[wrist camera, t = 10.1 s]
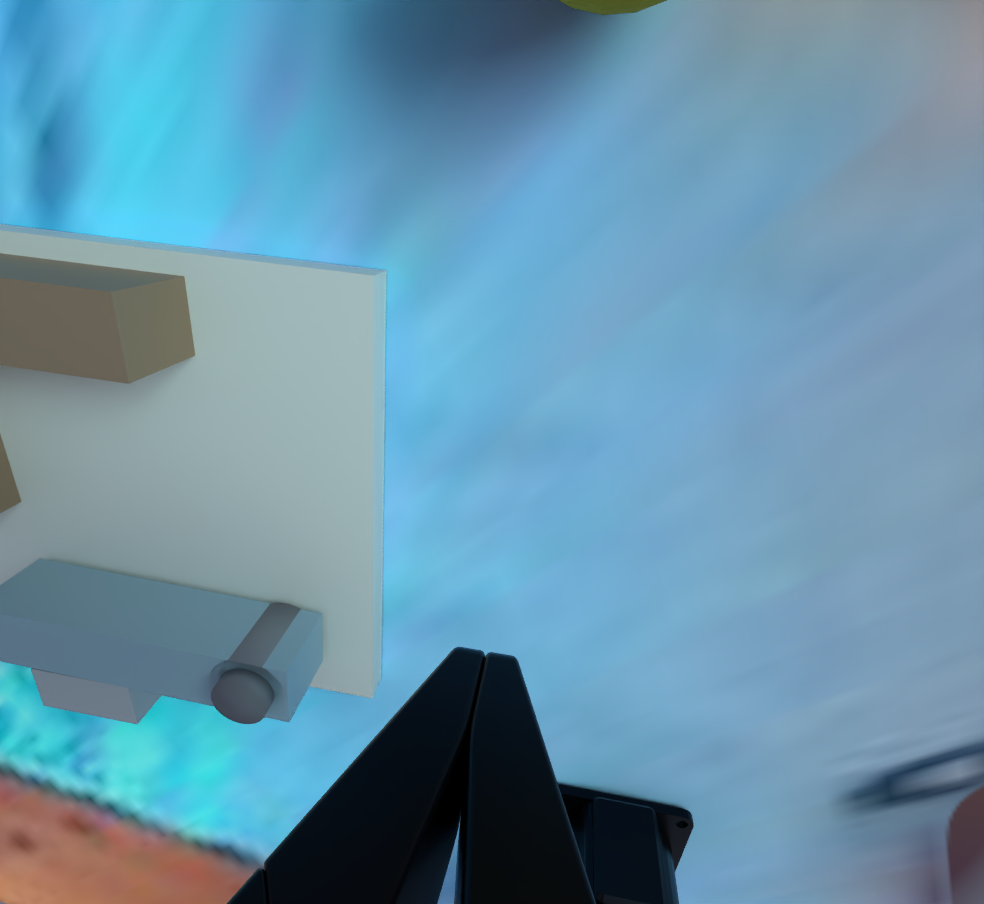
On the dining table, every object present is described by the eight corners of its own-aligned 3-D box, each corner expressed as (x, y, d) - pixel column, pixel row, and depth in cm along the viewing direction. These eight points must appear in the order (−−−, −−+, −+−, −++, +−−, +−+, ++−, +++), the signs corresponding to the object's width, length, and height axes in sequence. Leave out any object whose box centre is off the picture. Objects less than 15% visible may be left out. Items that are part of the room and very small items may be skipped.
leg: (322, 610, 22) (277, 682, 19) (323, 662, 23) (281, 739, 20) (38, 555, 23) (-51, 615, 20) (54, 608, 24) (-28, 673, 21)
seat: (381, 679, 25) (346, 766, 21) (32, 614, 27) (-59, 685, 23) (386, 270, 17) (333, 292, 14) (-102, 211, 19) (-272, 216, 15)
